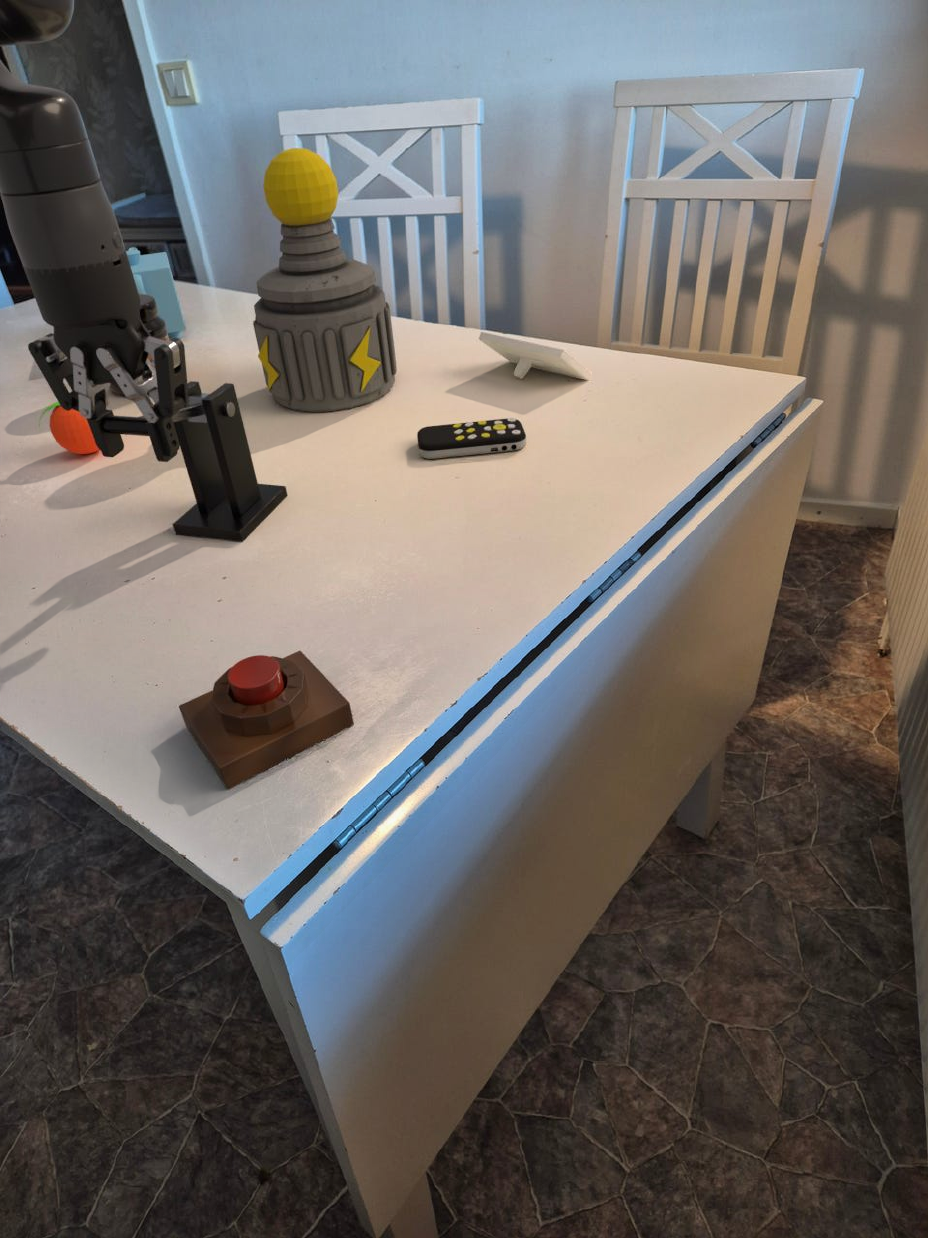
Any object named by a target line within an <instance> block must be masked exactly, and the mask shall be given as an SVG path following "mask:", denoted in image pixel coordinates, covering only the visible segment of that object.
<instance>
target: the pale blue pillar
mask: <svg viewBox="0 0 928 1238" xmlns="http://www.w3.org/2000/svg"><path fill="white" fill-rule="evenodd" d="M126 253H127V256H128V260H129V263H130V267H131V270H132V273H133V277H134V280H135V283H136V287H137V290H138V293H139V294H145V295H150V296H152V297H154V298H155V301H156V304H157V308H158V313H157V315H159V316H160V317H161V318H163V319H164V321H165V323H166V330H167V333H168V337H169V341H170V340H171V339H173V338H178V339H182V338H183V337H184V336H183V334H182V333H181V332H183V331H186V330H187V329H186V325H185V319H184V314H183V310H182V309H183V308H182V306H181V303H180V300H179V294H178V290H177V287H176V284H175V281H174V277H173V272H172V269H171V264H170V261H169V257H168V254H167V252H166V251H163V252H156V253H147V254H141V251H140V250H138V248H137V247H134V246H133V247H129V249H128V250H126Z"/></svg>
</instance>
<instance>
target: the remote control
mask: <svg viewBox="0 0 928 1238" xmlns="http://www.w3.org/2000/svg"><path fill="white" fill-rule="evenodd" d="M416 435H417V436H416V437H417V439H416V440H417V446H418V453H419V455H420V456H421V457H422V458H424V459H426V460H427V459H428V460H435V459H444V458H454V457H455V458H456V457H464V456H474V455H484V454H493V453H494V454H495V453H503V452H513V451H514V452H515V451H519V450H521V449H523V448H525V446H526V444H527V435H526V432H525V429H524V427H523V424H522V422H521V421H520V420H519V419H517V418H515V417H508V418H498V419H489V420H479V421H468V422H458V423H449V424H440V425H439V424H438V425H430V426H429V425H428V426H424V427H421V428H420V429H418V431H417V434H416Z"/></svg>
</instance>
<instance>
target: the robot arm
mask: <svg viewBox="0 0 928 1238" xmlns="http://www.w3.org/2000/svg"><path fill="white" fill-rule="evenodd" d="M74 11H75V0H0V47H8V46H18V45H31V44H42V43H46V42H49V41H52V40H55V39H57V38H59V37H60V36H61V35H63V33H64V32H65V31H66V30H67V29H68V27H69V26H70V23H71V21H72V18H73V16H74ZM0 198H1V201H2V204H3V208H4V213H5V218H6V220H7V226H8V229H9V232H10V235H11V238H12V240H13V243H14V245H15V248H16V251H17V254H18V257H19V259H20V261H21V264H22V268H23V270H24V273H25V275H26V279H27V281H28V283H29V285H30V288H31V291H32V293H33V297H34V300H35V302H36V304H37V308H38V310H39V313H40V316H41V318H42V320H43V321H44V322H45V323H46V324H47V325H49V326H51V327H53V333H52V332H51V333H48V334H46V335H44V336H42V337H39V338H38V339H35V340H33V341H31V342H29V343H28V345H27V348H28V351H29V354H30V355H31V357H32V358H33V361H34V362H35V364H36V365H37V367H38V369H39V371H40V372H41V374H42V376H43V378H44V379H45V381H46V382H47V383H46V384H47V385H48V386H49V388H50V390H51V391H52V393H53V395H54V397H55V398H56V400H57V402H59V404H60V405H61V407H62V408H63V409H65V410H67V411H69V410H71V409H74V410H76V411H78V412H80V414H81V415H82V416H83V417H84V418H86V419H87V421H88V424H89V427H90V429H91V432H92V434H93V438H94V440H95V443H96V445H97V447H98V448H99V450H98V451H100V452H101V455H102V456H103V457H104V458H114V457H116V456H117V455H118V454H120V453H122V452H123V451H124V449H125V444H124V443H125V442H124V440H123V438H122V434H110V433H106V432H104V430H103V429H102V425H101V422H102V419H103V417H104V416H106V415H113V416H115V414H114V411H113V410H112V409H108V407H109V405H110V396H109V395H110V394H109V393H110V392H109V391H110V389H109V386H110V385H111V384H114V385H117V386H119V387H120V388H121V390H122V391H123V393H124V394H125V395H124V397H126V399H127V400H129V401H133V402H134V404H135V405H136V406H137V408H138V409H139V411H140V413H141V414H142V416H144V417H145V419H146V420H147V421H148V422H147V423H145V424H146V428H147V431H148V434H149V436H148V437H149V439H150V442H151V446H152V449H153V452H154V455H155V458H156V461H158V462H160V463H168V462H169V461H171V460H172V459H173V458H174V457H176V456H177V454H178V451H179V450H180V443H179V440H178V437H177V434H176V430H175V427H174V424H173V420H172V416H173V415H174V414H175V413H176V412H178V411H179V410H181V409H182V408H184V407H186V406H187V405H188V404H189V398H188V385H187V383H188V374H187V361H186V351H185V350H186V349H185V344H184V342H183V341H182V340H181V338H179V339H178V338H173V339H171V340H169V341H165V340H161V339H158V338H154V337H151V335H150V333H149V331H148V330H147V329H146V327H145V326H144V324H143V323H142V321H141V318H140V305H141V300H140V297H139V293H138V290H137V287H136V283H135V280H134V277H133V273H132V270H131V267H130V263H129V260H128V256H127V253H126V251H127V250H126V247H125V244H124V240H123V236H122V233H121V229H120V227H119V223H118V220H117V217H116V214H115V211H114V209H113V206H112V204H111V201H110V200H109V199H110V198H108V194H107V192H106V190H105V187H104V184H103V182H102V180H101V175H100V172H99V169H98V165H97V161H96V158H95V155H94V152H93V149H92V145H91V142H90V139H89V136H88V132H87V129H86V125H85V123H84V120H83V117H82V113H81V111H80V109H79V107H78V104H77V103H76V101H75V100H74V98H73V97H72V96H71V95H70V94H69V93H67V92H65V91H63V90H61V89H57V88H54V87H48V86H44V85H43V86H42V85H35V84H30V83H27V82H24V81H21V80H19V79H18V78H16V77H15V76H14V75H13V74H12V73H11V71H9V69H8V67H7V66H6V65H5V64H4V63H3V61H2V60H1V59H0ZM148 355H150V356H151V359H152V361H151V362H150V360H149V359H148ZM154 367H155V368H156V370H155V368H154ZM141 375H142V378H143V381H142V382H141V383H140V384H136V383H135V382H134V380H135V379H137V378H139V377H140V376H141ZM64 380H65V381H66V383H67V384H68V386H69V388H70V390H71V391H69V390H68V388H67V386H66V384H65V382H64ZM147 392H148V393H149V394H147ZM149 396H150V397H149ZM150 398H151V399H150ZM152 401H153V402H154V403H153V402H152Z"/></svg>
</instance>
